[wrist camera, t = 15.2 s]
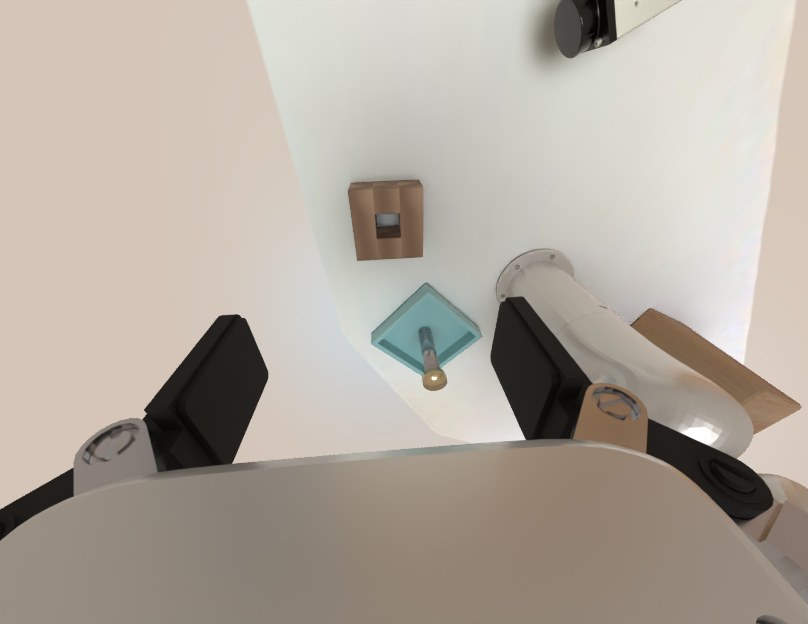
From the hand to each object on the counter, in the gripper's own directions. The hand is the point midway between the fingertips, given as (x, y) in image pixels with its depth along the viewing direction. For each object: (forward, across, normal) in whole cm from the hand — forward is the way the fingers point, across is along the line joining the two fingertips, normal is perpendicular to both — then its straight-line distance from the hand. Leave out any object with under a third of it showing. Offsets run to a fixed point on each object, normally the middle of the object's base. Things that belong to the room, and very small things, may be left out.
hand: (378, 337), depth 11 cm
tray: (+33, -6, +26) cm, 43 cm away
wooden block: (+34, -51, +31) cm, 68 cm away
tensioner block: (+33, -1, +5) cm, 34 cm away
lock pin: (+33, -6, +26) cm, 42 cm away
